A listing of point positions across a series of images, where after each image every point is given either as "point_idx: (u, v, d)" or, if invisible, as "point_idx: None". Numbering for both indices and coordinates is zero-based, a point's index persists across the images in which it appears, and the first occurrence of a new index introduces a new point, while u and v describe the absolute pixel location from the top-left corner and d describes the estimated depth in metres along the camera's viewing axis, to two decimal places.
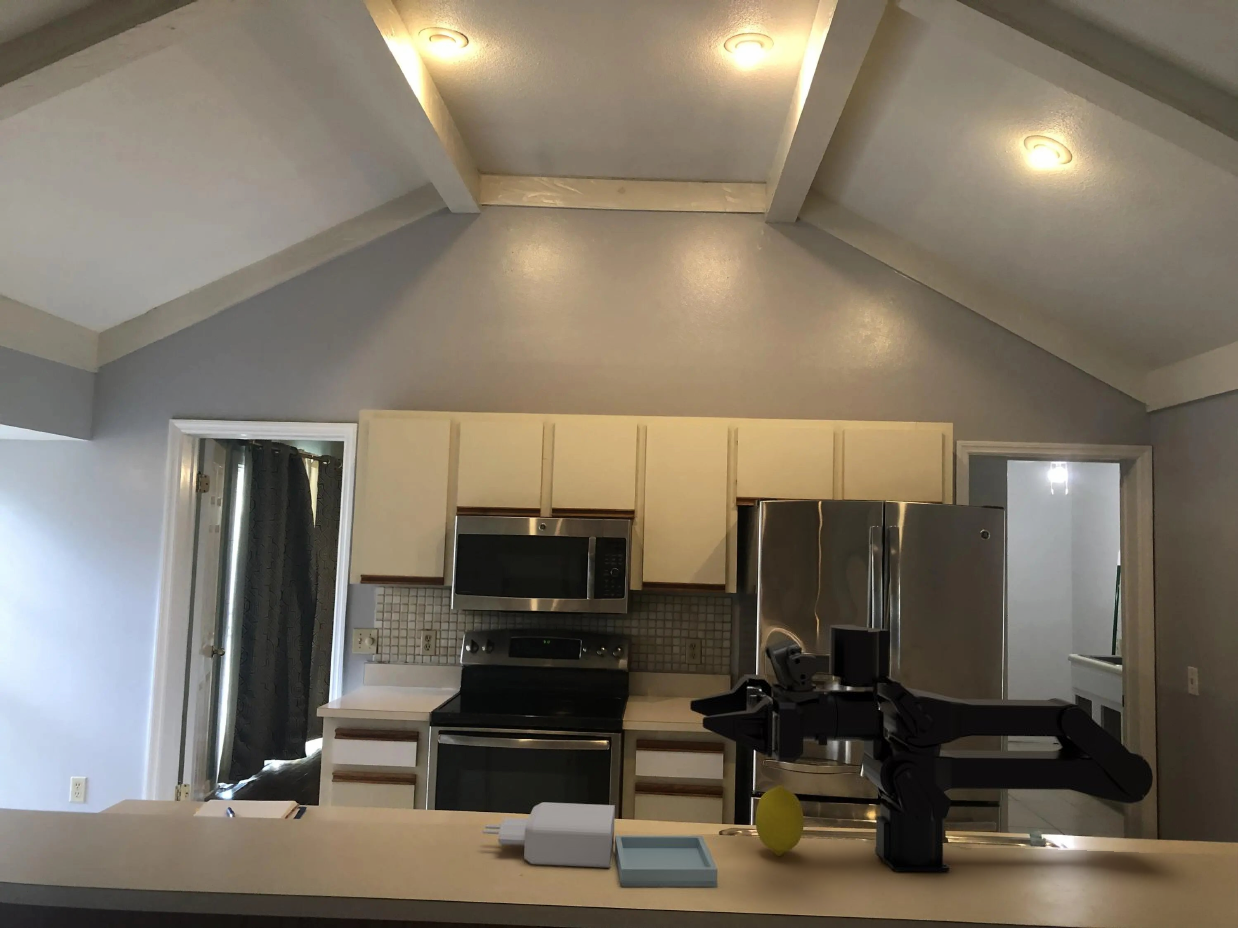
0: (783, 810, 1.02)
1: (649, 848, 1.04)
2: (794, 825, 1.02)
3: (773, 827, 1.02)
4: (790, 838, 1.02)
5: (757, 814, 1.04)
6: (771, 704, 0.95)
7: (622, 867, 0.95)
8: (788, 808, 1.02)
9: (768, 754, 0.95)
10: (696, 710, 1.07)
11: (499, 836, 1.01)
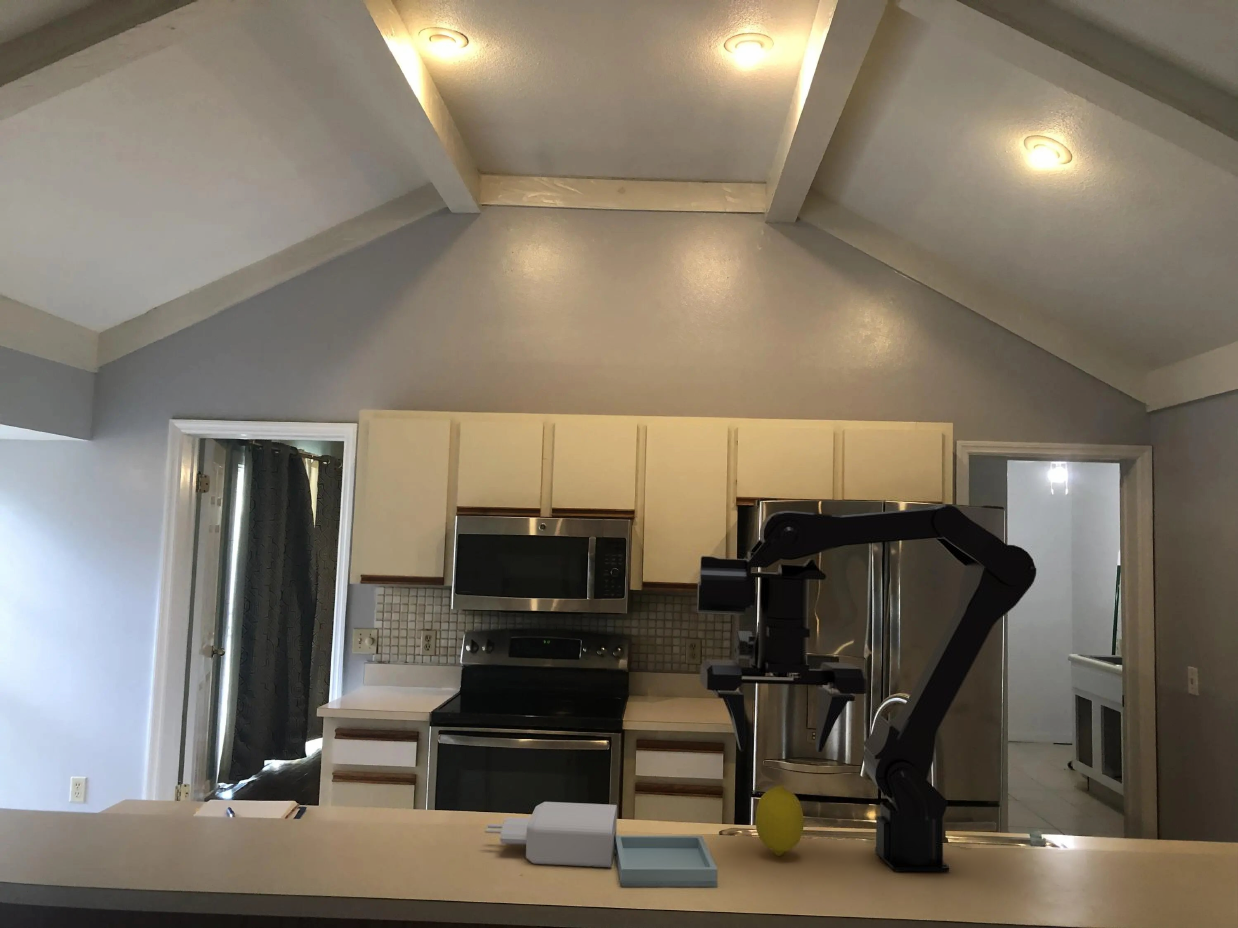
0: (783, 811, 1.02)
1: (649, 848, 1.04)
2: (794, 825, 1.02)
3: (773, 828, 1.02)
4: (789, 838, 1.02)
5: (757, 814, 1.04)
6: None
7: (622, 867, 0.95)
8: (788, 808, 1.02)
9: (718, 696, 1.02)
10: (818, 746, 1.05)
11: (501, 835, 1.02)
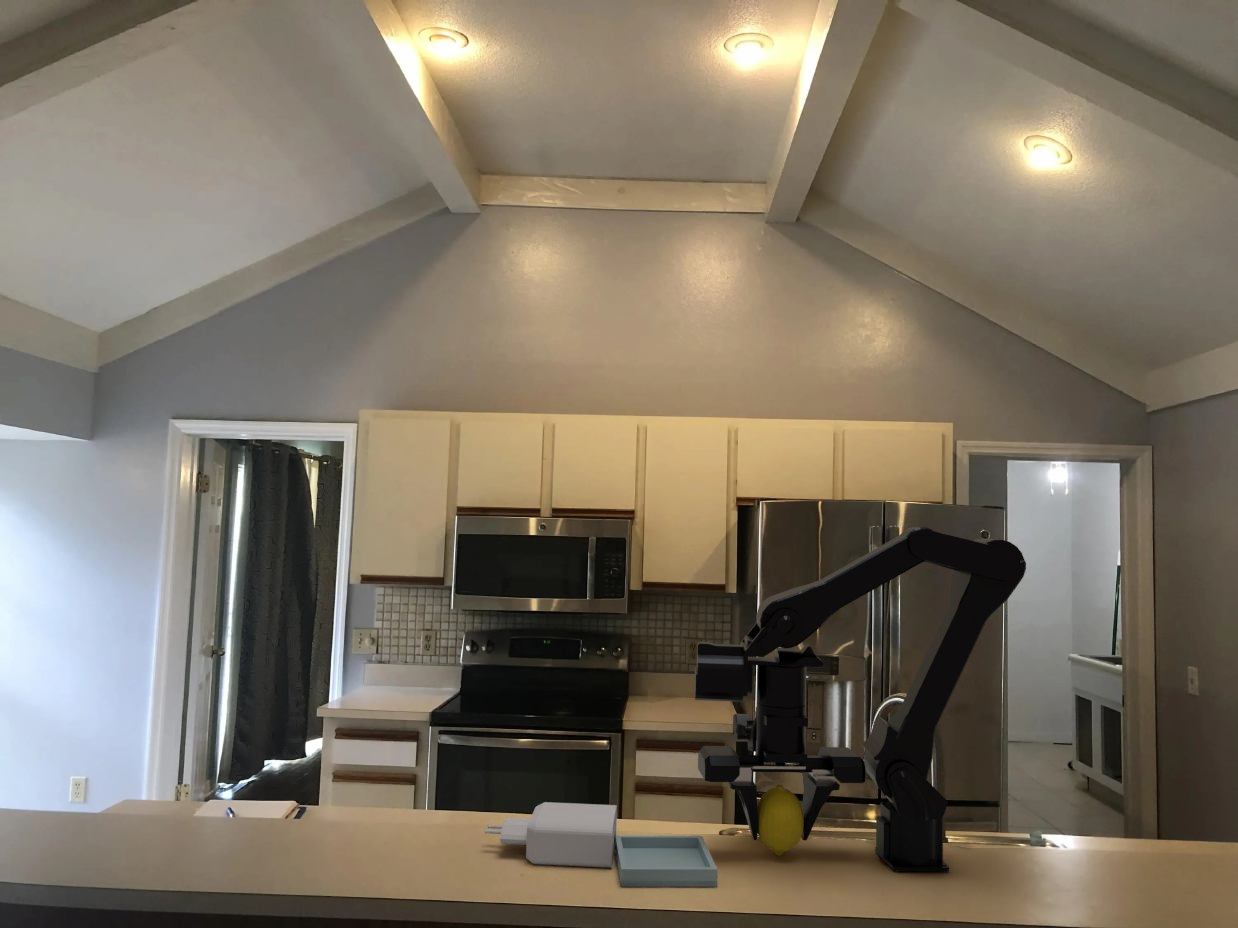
0: (783, 810, 1.02)
1: (649, 848, 1.04)
2: (794, 825, 1.02)
3: (773, 827, 1.02)
4: (789, 838, 1.02)
5: None
6: None
7: (622, 867, 0.95)
8: (788, 808, 1.02)
9: (731, 787, 1.02)
10: (803, 834, 1.04)
11: (501, 836, 1.01)
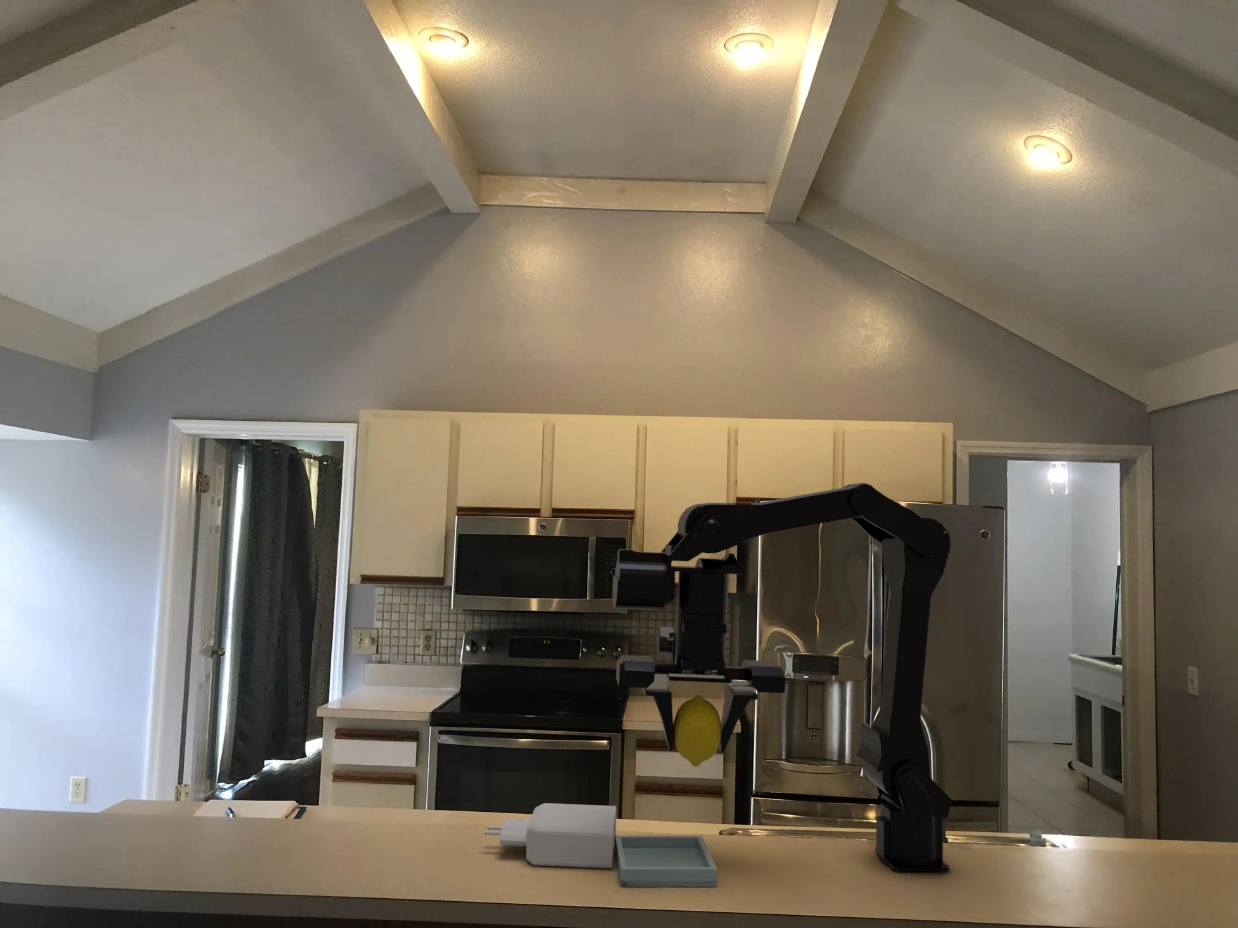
0: (699, 719, 1.00)
1: (649, 848, 1.04)
2: (709, 733, 0.99)
3: (688, 736, 0.99)
4: (705, 747, 0.99)
5: (674, 724, 1.01)
6: None
7: (622, 867, 0.95)
8: (705, 717, 1.00)
9: (645, 694, 0.99)
10: (721, 746, 1.01)
11: (501, 837, 1.01)
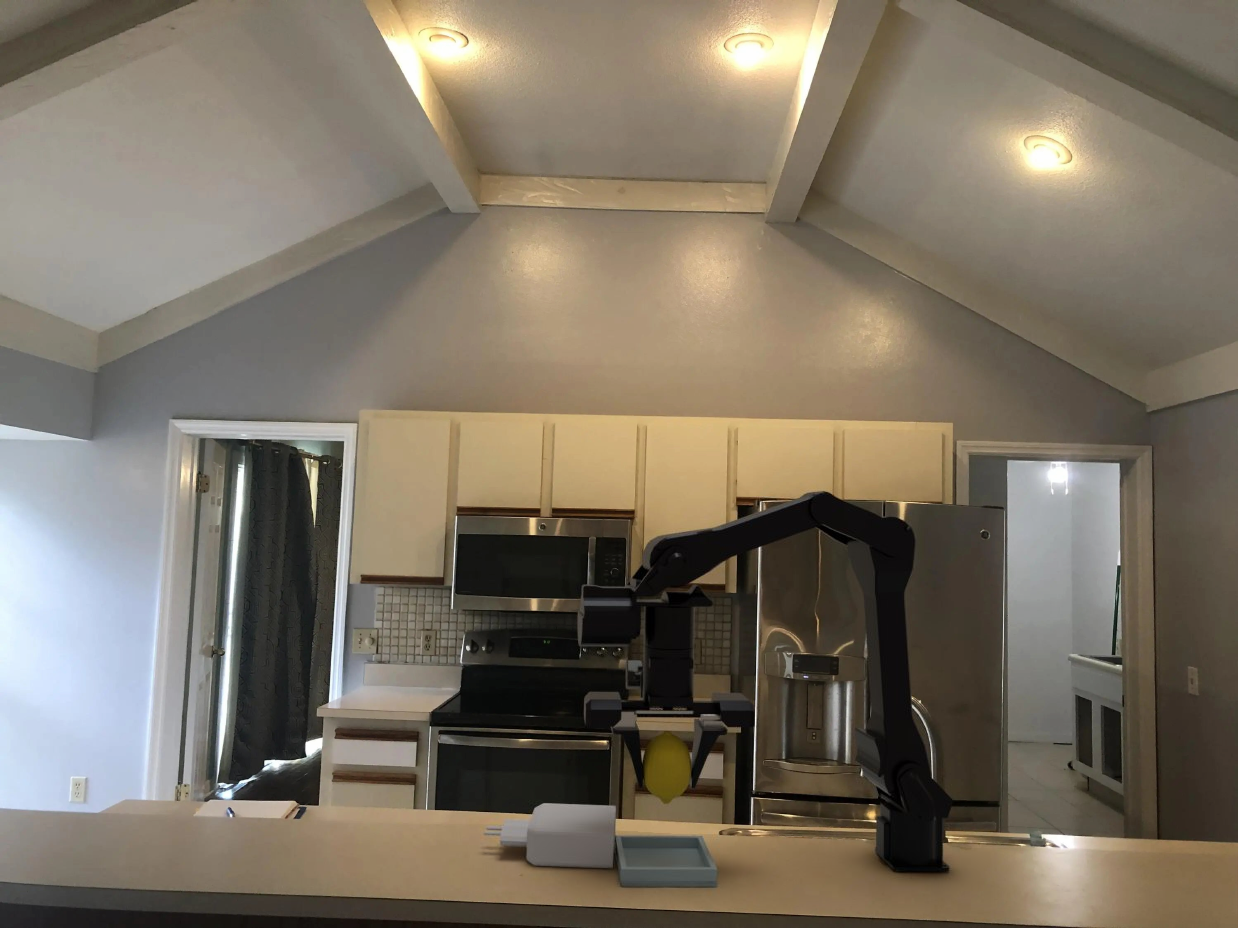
0: (668, 756, 0.98)
1: (649, 848, 1.04)
2: (679, 770, 0.98)
3: (657, 774, 0.98)
4: (674, 784, 0.98)
5: (643, 761, 1.00)
6: None
7: (622, 867, 0.95)
8: (674, 753, 0.98)
9: (613, 732, 0.97)
10: (691, 782, 1.00)
11: (501, 838, 1.01)
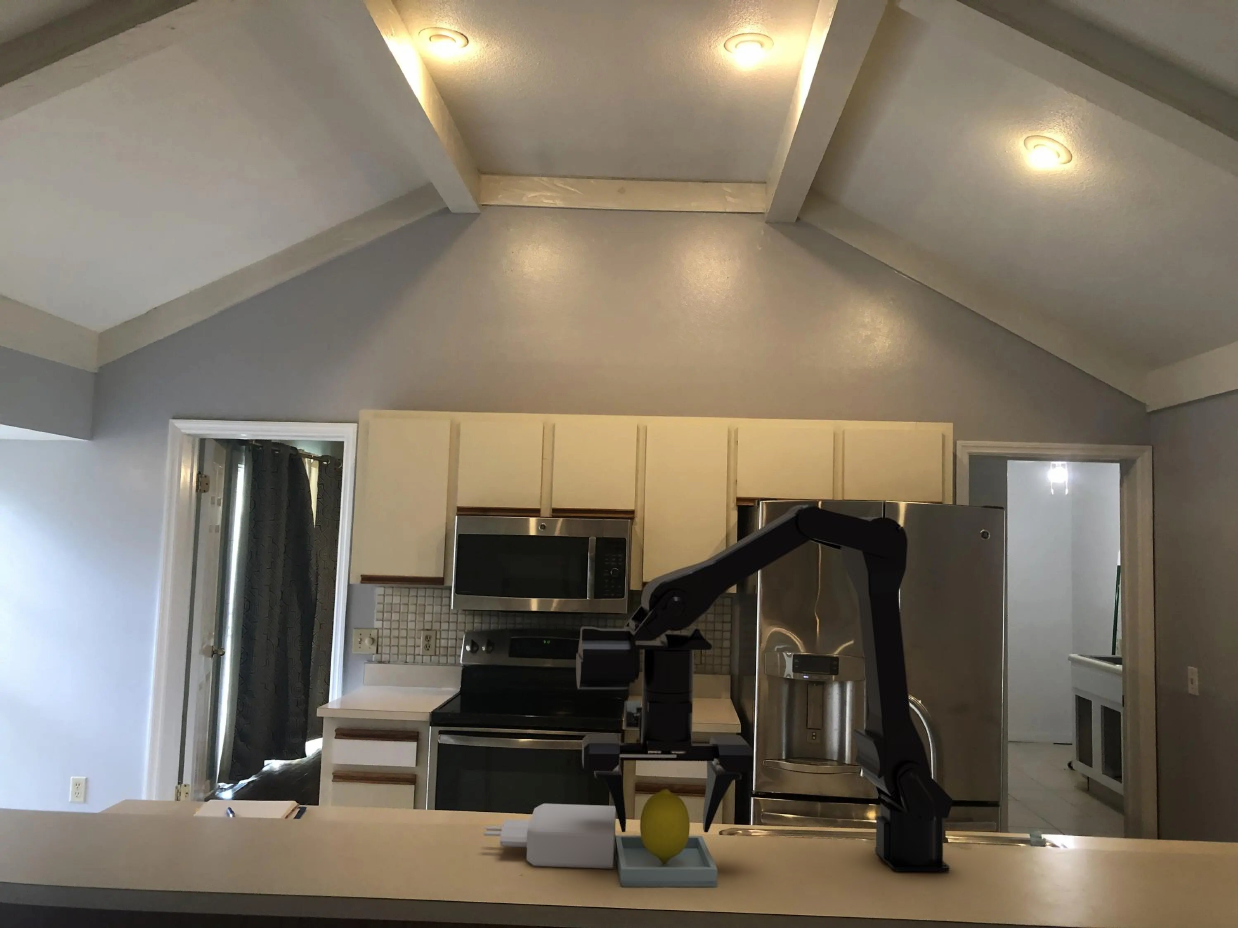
0: (666, 816, 0.97)
1: None
2: (677, 830, 0.97)
3: (655, 834, 0.97)
4: (672, 844, 0.97)
5: (641, 819, 0.99)
6: None
7: (622, 867, 0.95)
8: (672, 813, 0.98)
9: (595, 776, 0.97)
10: (704, 826, 0.99)
11: (501, 838, 1.01)
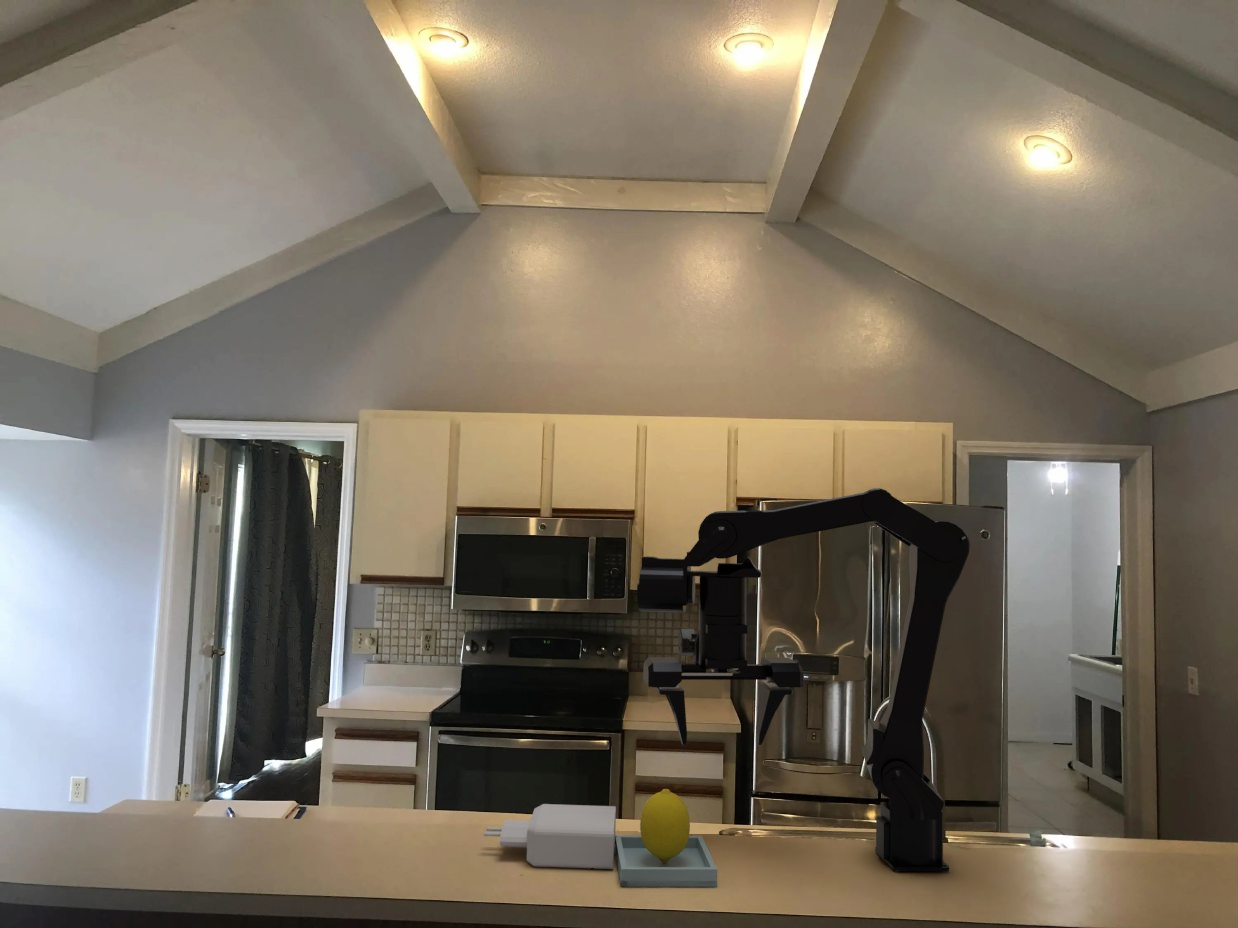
0: (666, 816, 0.97)
1: None
2: (677, 830, 0.97)
3: (655, 833, 0.97)
4: (673, 844, 0.97)
5: (641, 819, 0.99)
6: None
7: (622, 867, 0.95)
8: (672, 813, 0.98)
9: (659, 693, 1.05)
10: (758, 739, 1.08)
11: (501, 838, 1.01)
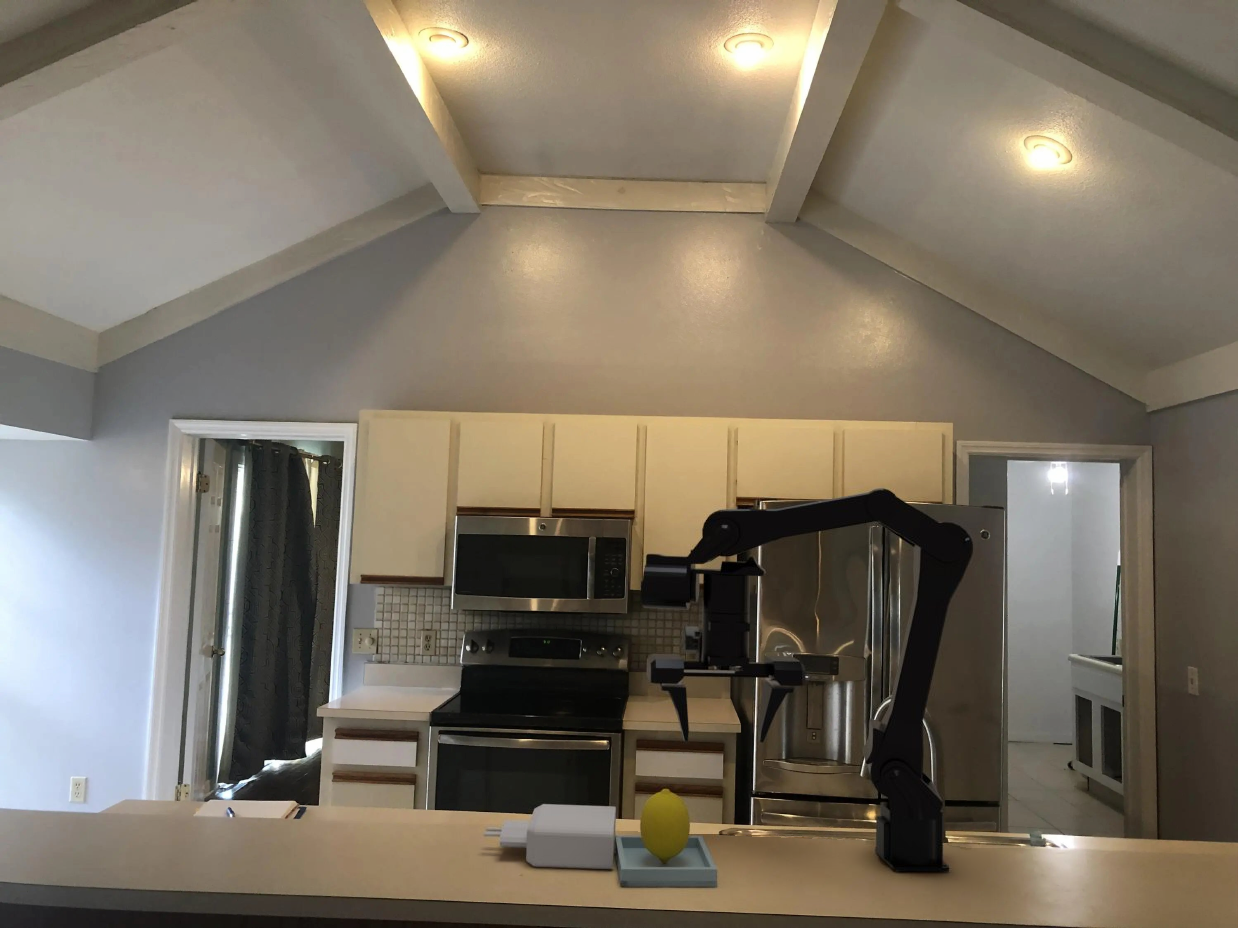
0: (666, 816, 0.97)
1: None
2: (677, 830, 0.97)
3: (655, 833, 0.97)
4: (673, 844, 0.97)
5: (641, 819, 0.99)
6: None
7: (622, 867, 0.95)
8: (672, 813, 0.98)
9: (661, 689, 1.06)
10: (760, 736, 1.08)
11: (500, 839, 1.01)
